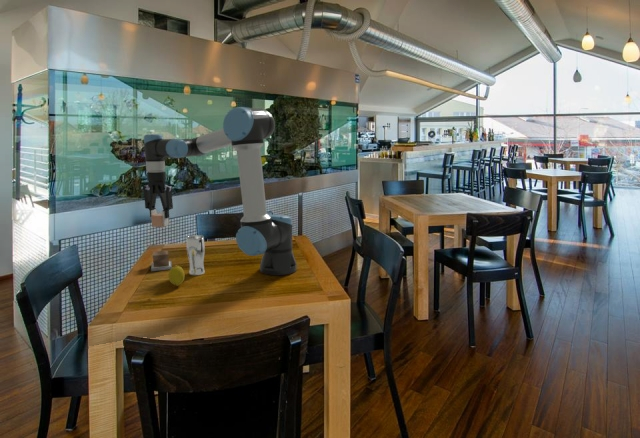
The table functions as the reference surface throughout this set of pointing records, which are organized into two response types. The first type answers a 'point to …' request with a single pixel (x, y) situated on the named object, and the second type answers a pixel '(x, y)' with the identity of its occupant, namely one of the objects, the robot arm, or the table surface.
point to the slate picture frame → (161, 267)
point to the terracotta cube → (157, 220)
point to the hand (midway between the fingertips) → (160, 225)
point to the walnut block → (160, 258)
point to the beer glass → (196, 254)
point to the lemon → (176, 275)
